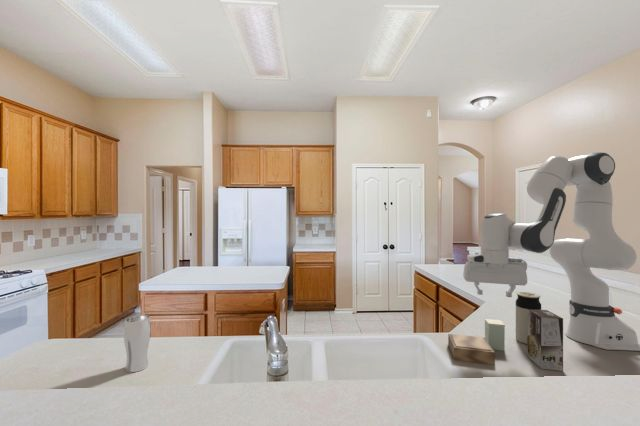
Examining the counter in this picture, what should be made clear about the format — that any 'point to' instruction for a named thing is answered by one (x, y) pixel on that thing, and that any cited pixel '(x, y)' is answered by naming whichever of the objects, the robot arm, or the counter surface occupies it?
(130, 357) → the beer glass
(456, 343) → the square wooden tray
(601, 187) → the robot arm
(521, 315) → the travel mug
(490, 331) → the tea tin
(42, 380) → the counter surface
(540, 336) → the coffee box
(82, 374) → the counter surface
